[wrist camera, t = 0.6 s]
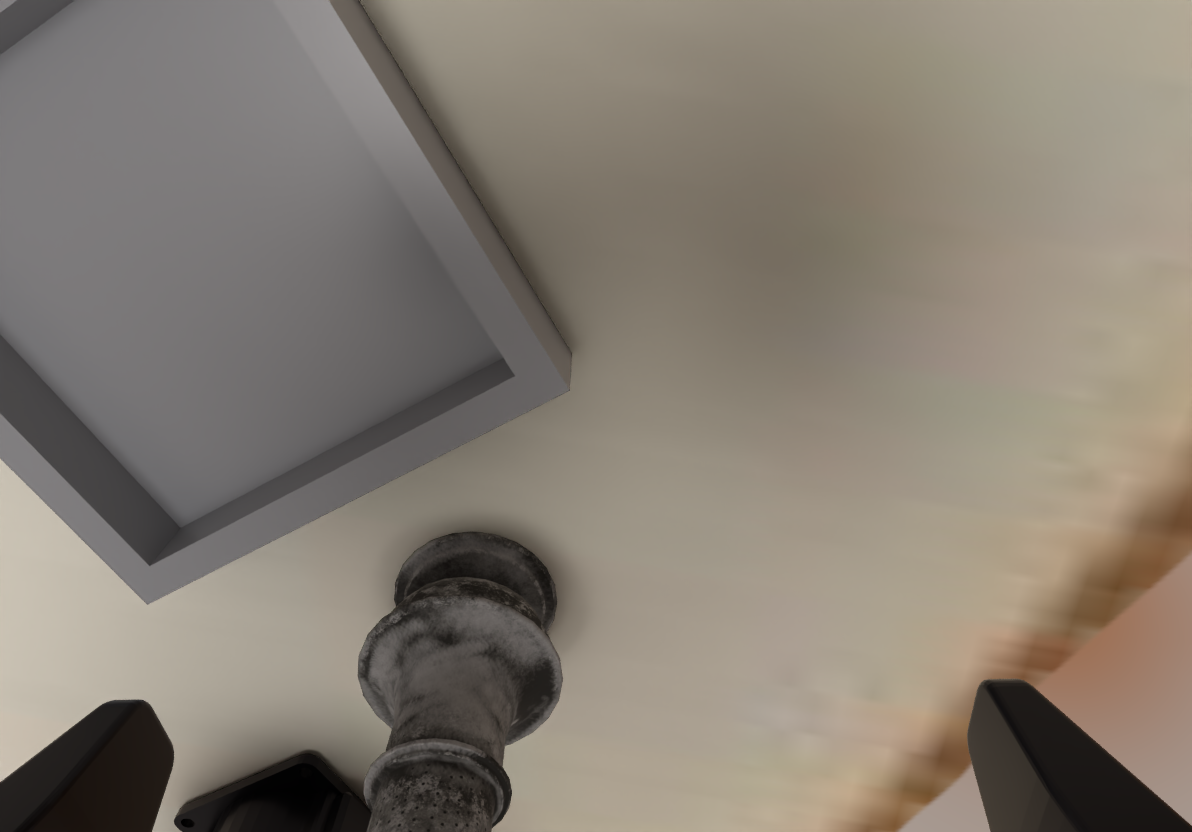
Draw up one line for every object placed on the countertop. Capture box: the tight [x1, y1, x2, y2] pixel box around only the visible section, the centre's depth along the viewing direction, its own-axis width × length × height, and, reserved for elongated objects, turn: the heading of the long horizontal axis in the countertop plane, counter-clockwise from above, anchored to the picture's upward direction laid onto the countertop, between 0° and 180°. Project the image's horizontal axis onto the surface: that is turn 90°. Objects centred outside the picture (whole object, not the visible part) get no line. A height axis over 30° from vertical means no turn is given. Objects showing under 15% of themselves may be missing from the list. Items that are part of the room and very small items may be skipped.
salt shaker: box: [358, 532, 563, 832], centre depth 21 cm, size 6×6×12 cm
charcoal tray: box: [0, 0, 572, 605], centre depth 20 cm, size 14×14×2 cm
